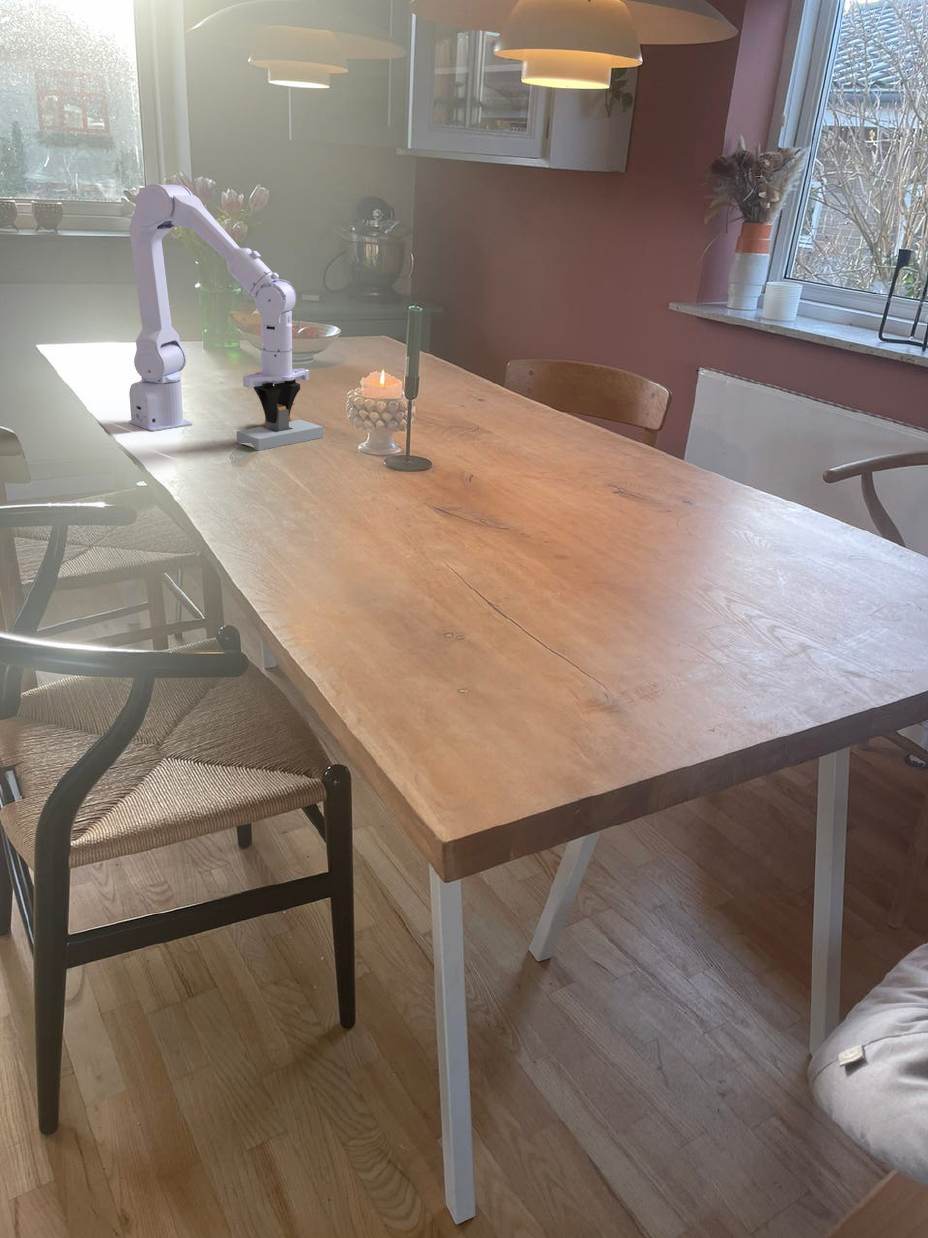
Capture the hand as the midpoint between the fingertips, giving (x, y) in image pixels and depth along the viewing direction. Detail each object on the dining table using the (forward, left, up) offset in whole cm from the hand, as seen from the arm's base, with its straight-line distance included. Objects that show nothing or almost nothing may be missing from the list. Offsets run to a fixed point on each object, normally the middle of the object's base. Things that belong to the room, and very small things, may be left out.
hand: (277, 420), depth 183 cm
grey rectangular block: (0, 0, -4) cm, 4 cm away
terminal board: (0, -1, -4) cm, 4 cm away
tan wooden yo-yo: (+7, +7, -4) cm, 11 cm away
